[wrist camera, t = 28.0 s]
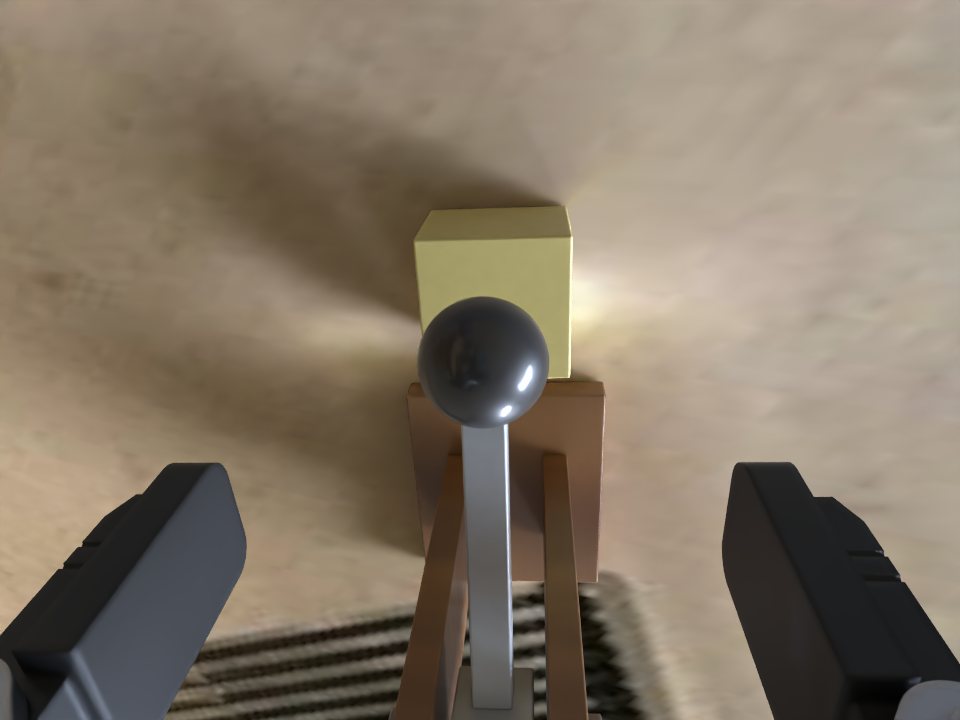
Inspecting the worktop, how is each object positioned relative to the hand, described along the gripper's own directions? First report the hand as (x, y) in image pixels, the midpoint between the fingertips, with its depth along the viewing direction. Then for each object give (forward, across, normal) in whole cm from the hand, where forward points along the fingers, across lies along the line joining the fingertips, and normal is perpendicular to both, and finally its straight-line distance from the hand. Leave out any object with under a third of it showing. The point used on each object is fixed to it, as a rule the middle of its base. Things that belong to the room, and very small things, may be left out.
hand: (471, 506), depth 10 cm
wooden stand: (+15, 0, +11) cm, 19 cm away
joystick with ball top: (+6, 0, +6) cm, 9 cm away
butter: (+15, 0, +2) cm, 15 cm away
